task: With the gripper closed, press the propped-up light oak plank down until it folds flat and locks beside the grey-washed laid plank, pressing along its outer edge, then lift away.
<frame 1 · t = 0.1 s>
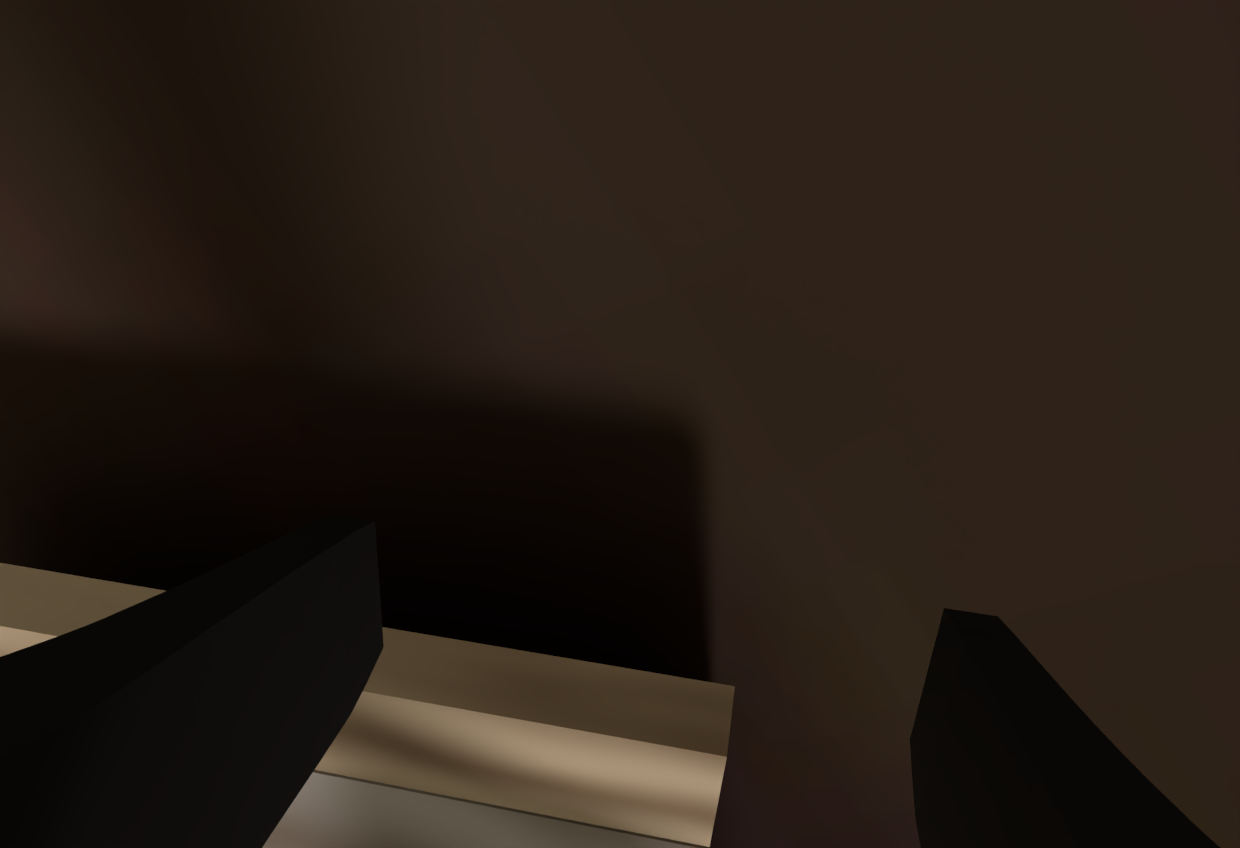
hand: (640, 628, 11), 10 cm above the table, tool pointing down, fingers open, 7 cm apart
oak plank: (304, 700, 23), point 3 cm above the table, hinge at 28.0°
laid plank: (369, 832, 29), on the table
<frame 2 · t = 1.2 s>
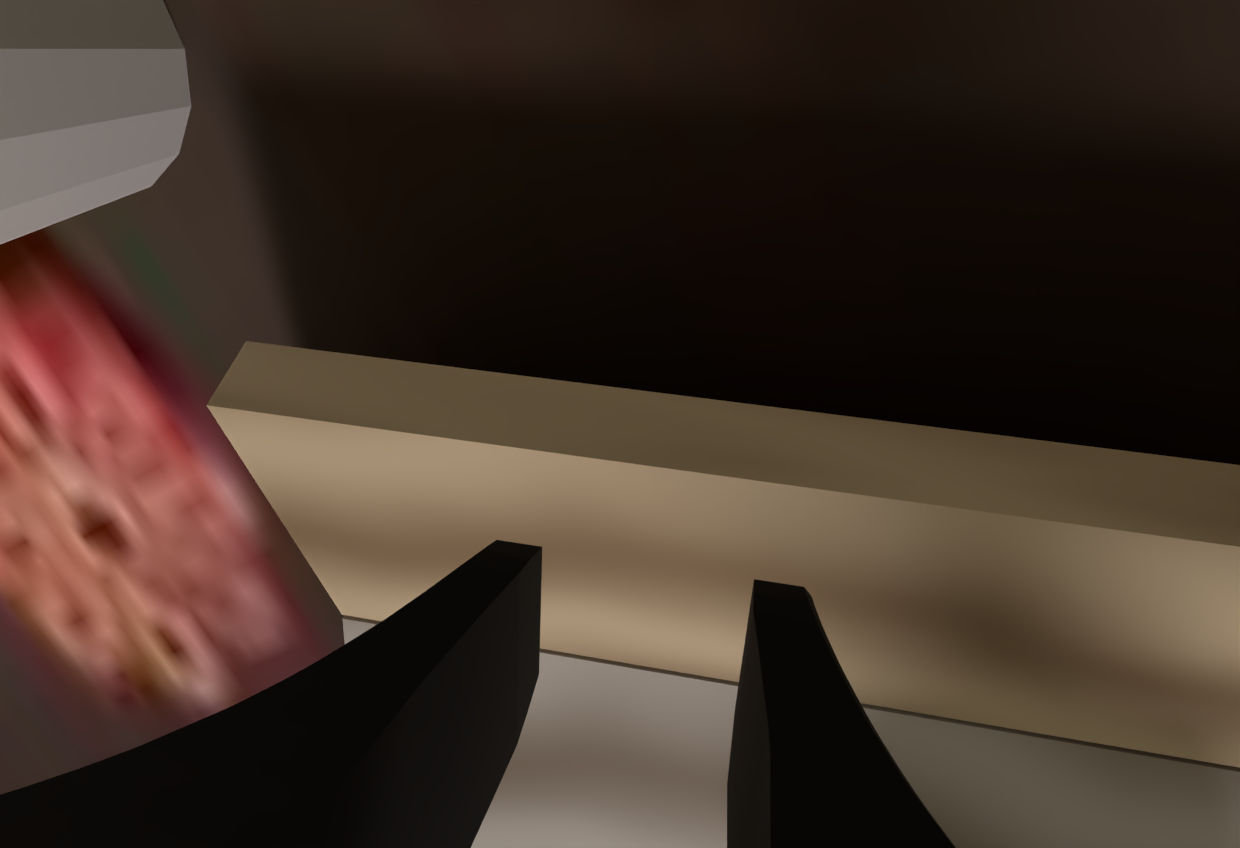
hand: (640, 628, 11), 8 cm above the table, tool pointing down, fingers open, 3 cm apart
oak plank: (832, 578, 17), point 3 cm above the table, hinge at 28.0°
shot glass: (75, 64, 18), on the table
laid plank: (779, 778, 22), on the table
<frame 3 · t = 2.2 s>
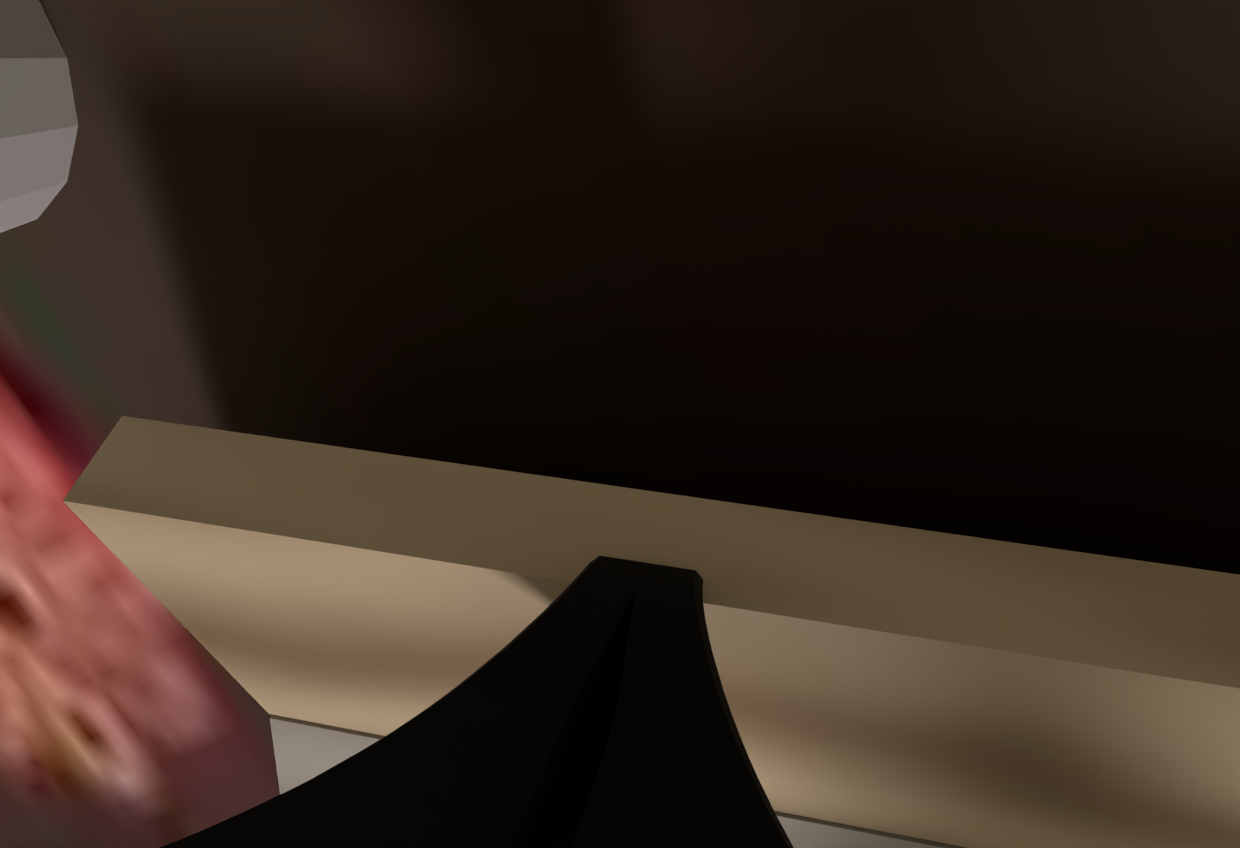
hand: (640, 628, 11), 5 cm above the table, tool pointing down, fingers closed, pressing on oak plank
oak plank: (842, 699, 14), point 3 cm above the table, hinge at 27.7°, touching gripper
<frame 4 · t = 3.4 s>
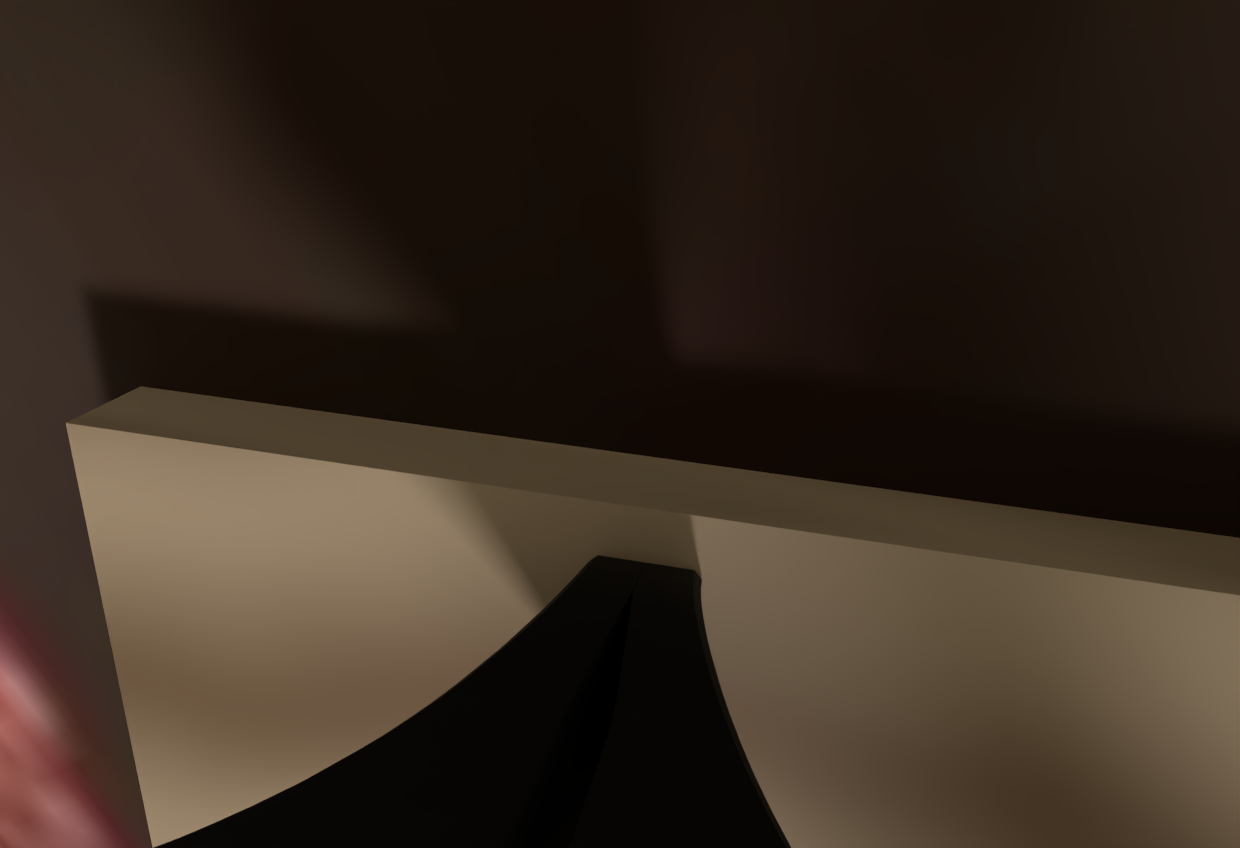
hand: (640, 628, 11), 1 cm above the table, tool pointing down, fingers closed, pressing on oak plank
oak plank: (860, 769, 12), point 1 cm above the table, hinge at -0.8°, touching gripper
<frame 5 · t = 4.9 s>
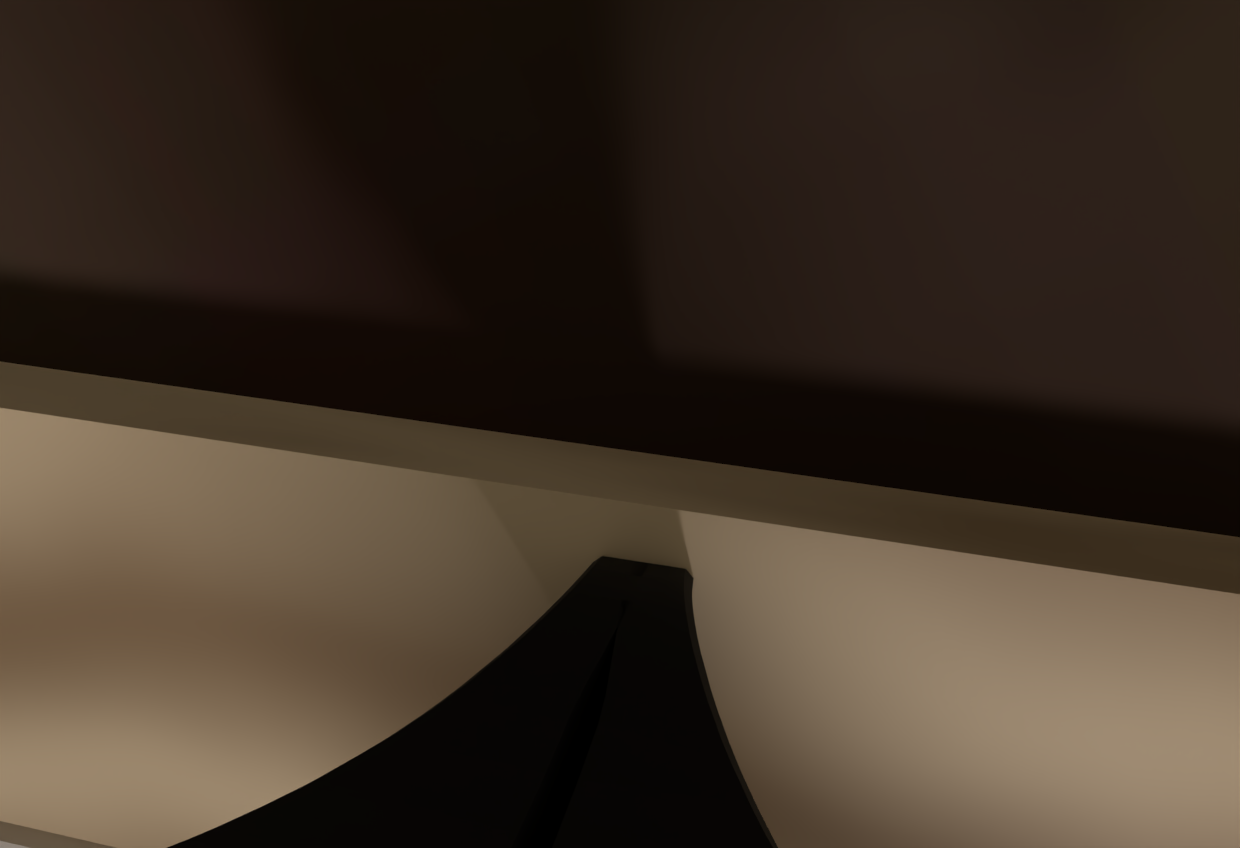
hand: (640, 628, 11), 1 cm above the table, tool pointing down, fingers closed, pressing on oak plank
oak plank: (457, 691, 13), point 1 cm above the table, hinge at -0.8°, touching gripper
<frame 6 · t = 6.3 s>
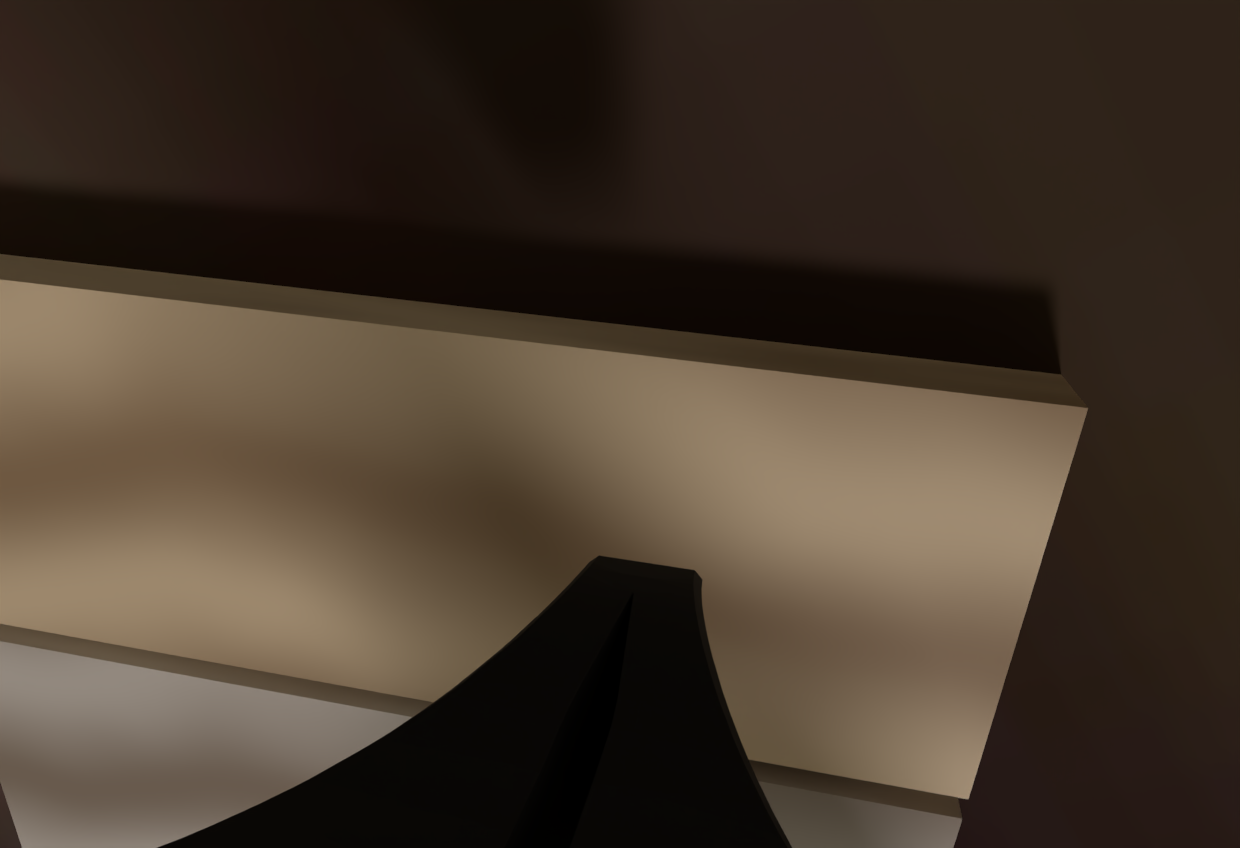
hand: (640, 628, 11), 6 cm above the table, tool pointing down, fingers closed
oak plank: (419, 511, 17), point 1 cm above the table, hinge at -0.6°
laid plank: (444, 799, 21), on the table
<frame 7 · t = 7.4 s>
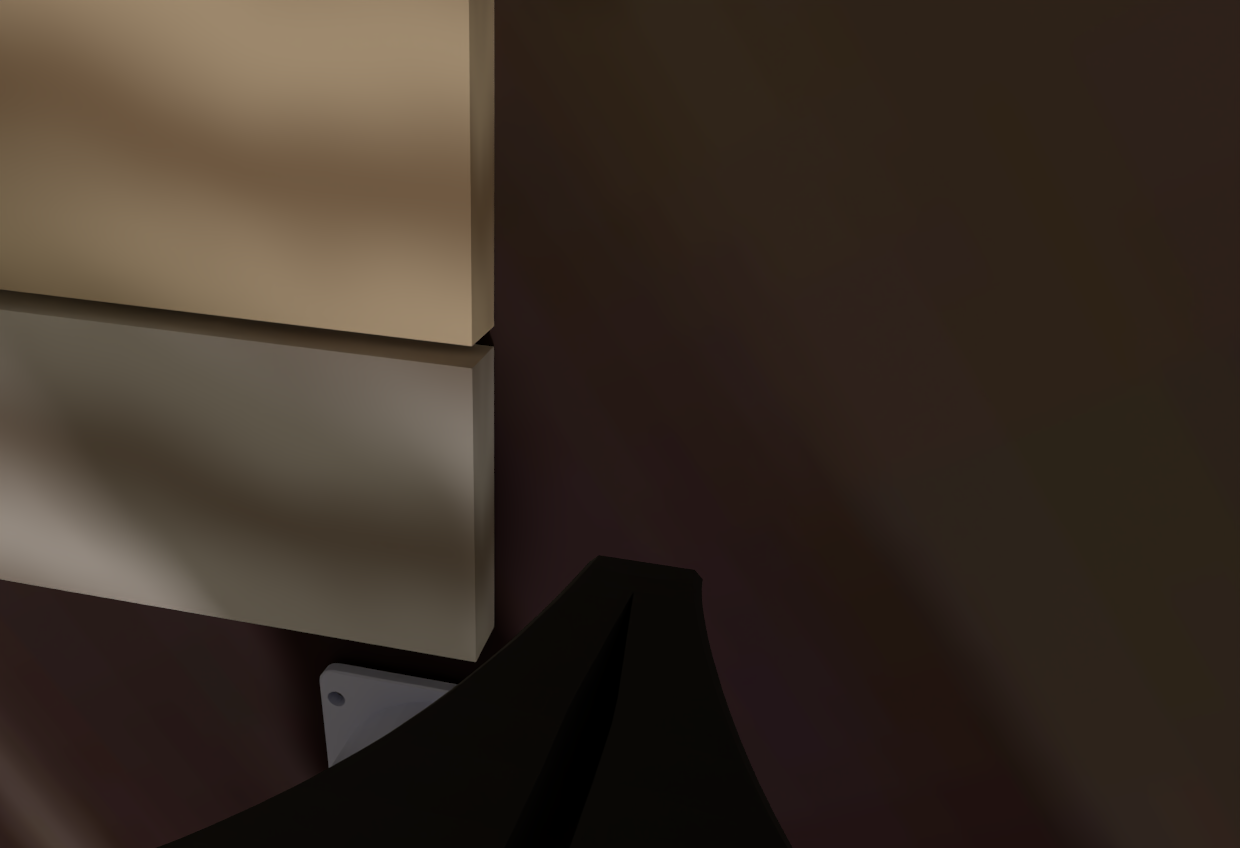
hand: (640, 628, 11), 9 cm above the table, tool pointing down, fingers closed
oak plank: (5, 106, 19), point 1 cm above the table, hinge at -0.6°
laid plank: (101, 439, 23), on the table
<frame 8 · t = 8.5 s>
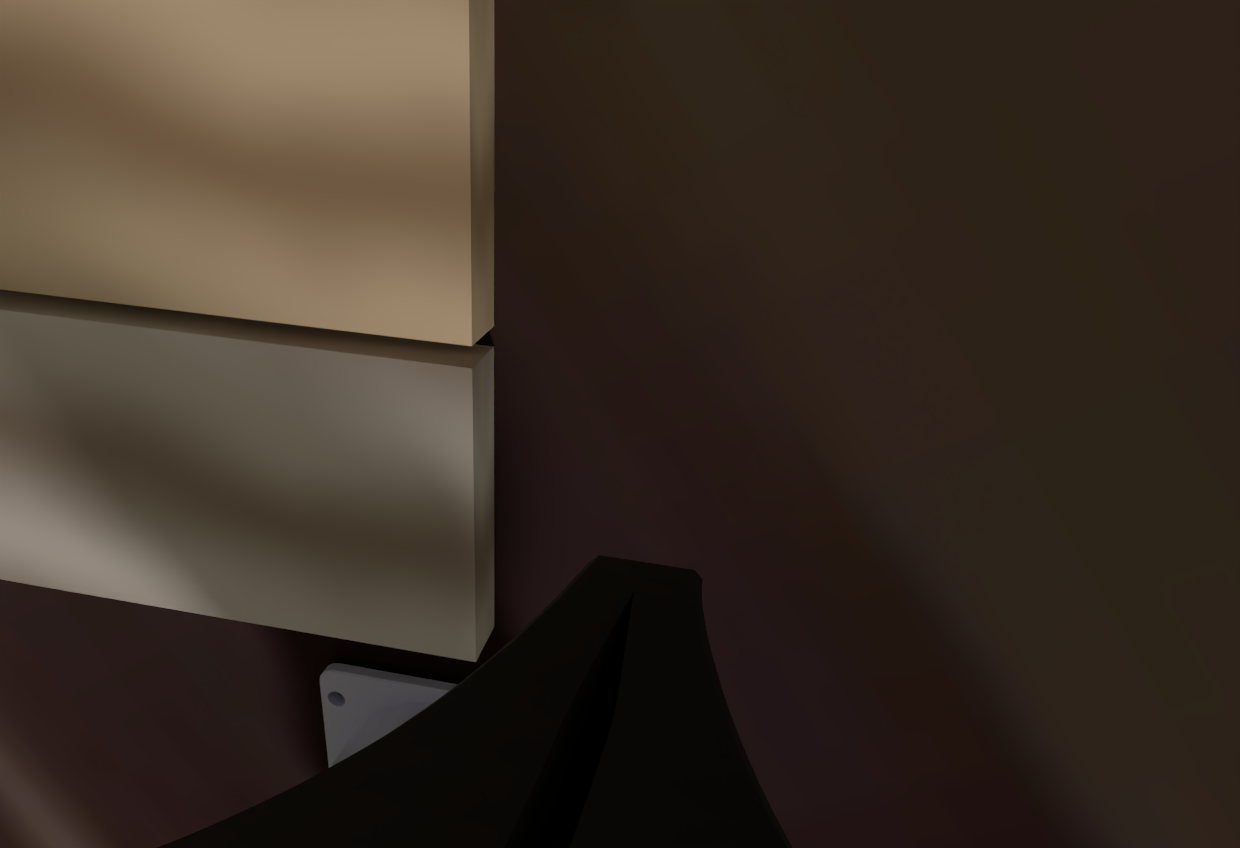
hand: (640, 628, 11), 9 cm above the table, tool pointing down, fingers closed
oak plank: (5, 106, 19), point 1 cm above the table, hinge at -0.6°
laid plank: (101, 439, 23), on the table
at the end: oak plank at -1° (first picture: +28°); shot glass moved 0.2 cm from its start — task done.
